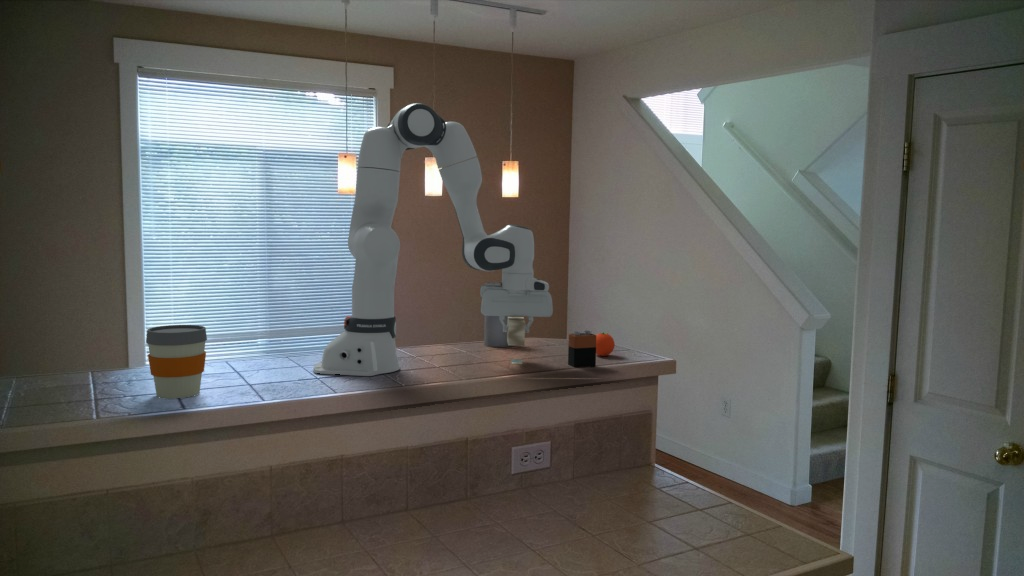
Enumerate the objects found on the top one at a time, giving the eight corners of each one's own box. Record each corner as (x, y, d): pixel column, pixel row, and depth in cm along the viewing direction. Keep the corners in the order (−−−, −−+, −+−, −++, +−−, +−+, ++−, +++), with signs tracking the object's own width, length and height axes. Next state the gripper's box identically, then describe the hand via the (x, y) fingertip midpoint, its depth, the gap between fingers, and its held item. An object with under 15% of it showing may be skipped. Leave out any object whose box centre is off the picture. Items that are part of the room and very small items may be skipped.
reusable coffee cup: (139, 393, 172) (137, 327, 170) (194, 385, 180) (193, 323, 179) (159, 403, 163) (158, 334, 161) (217, 394, 172) (216, 329, 170)
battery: (596, 367, 211) (597, 331, 210) (574, 368, 208) (575, 332, 207) (588, 364, 215) (589, 329, 214) (567, 365, 212) (568, 330, 211)
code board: (494, 367, 208) (494, 365, 208) (493, 358, 220) (493, 357, 220) (541, 367, 209) (541, 366, 209) (537, 359, 221) (537, 357, 221)
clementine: (596, 352, 234) (597, 329, 233) (618, 354, 231) (619, 331, 230) (587, 356, 227) (588, 333, 226) (610, 358, 224) (610, 334, 223)
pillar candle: (501, 341, 251) (501, 296, 249) (520, 345, 244) (520, 299, 242) (478, 344, 245) (478, 298, 243) (497, 348, 237) (497, 301, 236)
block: (508, 345, 210) (508, 320, 209) (507, 340, 217) (507, 316, 217) (524, 345, 210) (525, 320, 210) (522, 341, 218) (523, 317, 217)
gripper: (480, 283, 209) (479, 332, 210) (554, 285, 210) (552, 334, 211) (480, 281, 215) (479, 329, 216) (552, 283, 216) (550, 331, 217)
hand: (516, 331), depth 214 cm, fingers closed on block, 4 cm apart
